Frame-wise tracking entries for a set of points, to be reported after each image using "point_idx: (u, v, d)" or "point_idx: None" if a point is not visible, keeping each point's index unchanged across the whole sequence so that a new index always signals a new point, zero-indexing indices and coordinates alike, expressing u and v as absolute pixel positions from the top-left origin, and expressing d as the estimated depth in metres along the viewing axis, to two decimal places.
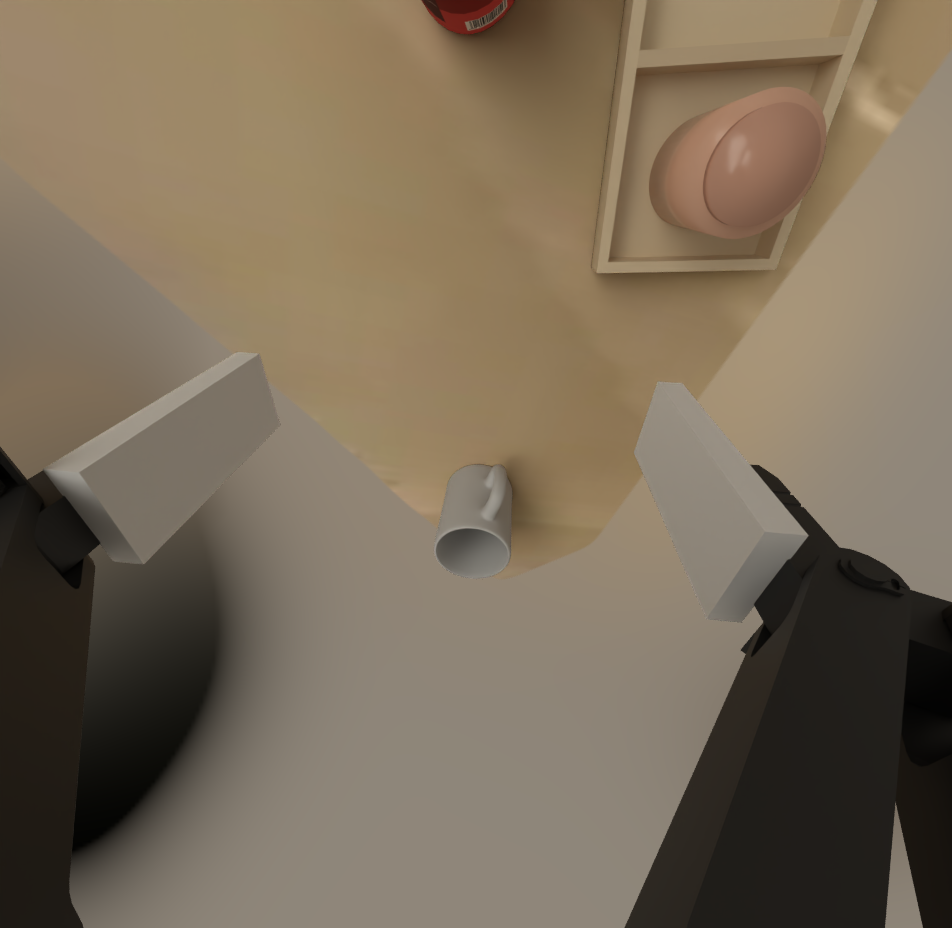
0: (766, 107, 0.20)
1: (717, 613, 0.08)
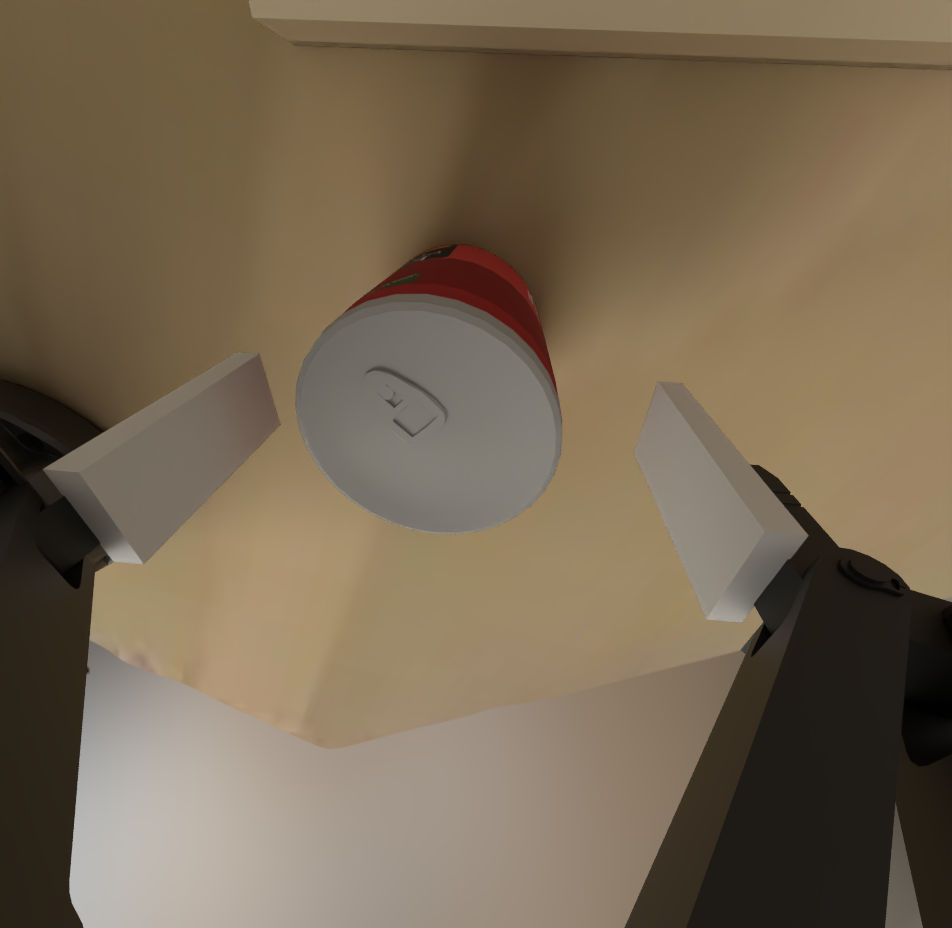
0: None
1: (717, 613, 0.08)
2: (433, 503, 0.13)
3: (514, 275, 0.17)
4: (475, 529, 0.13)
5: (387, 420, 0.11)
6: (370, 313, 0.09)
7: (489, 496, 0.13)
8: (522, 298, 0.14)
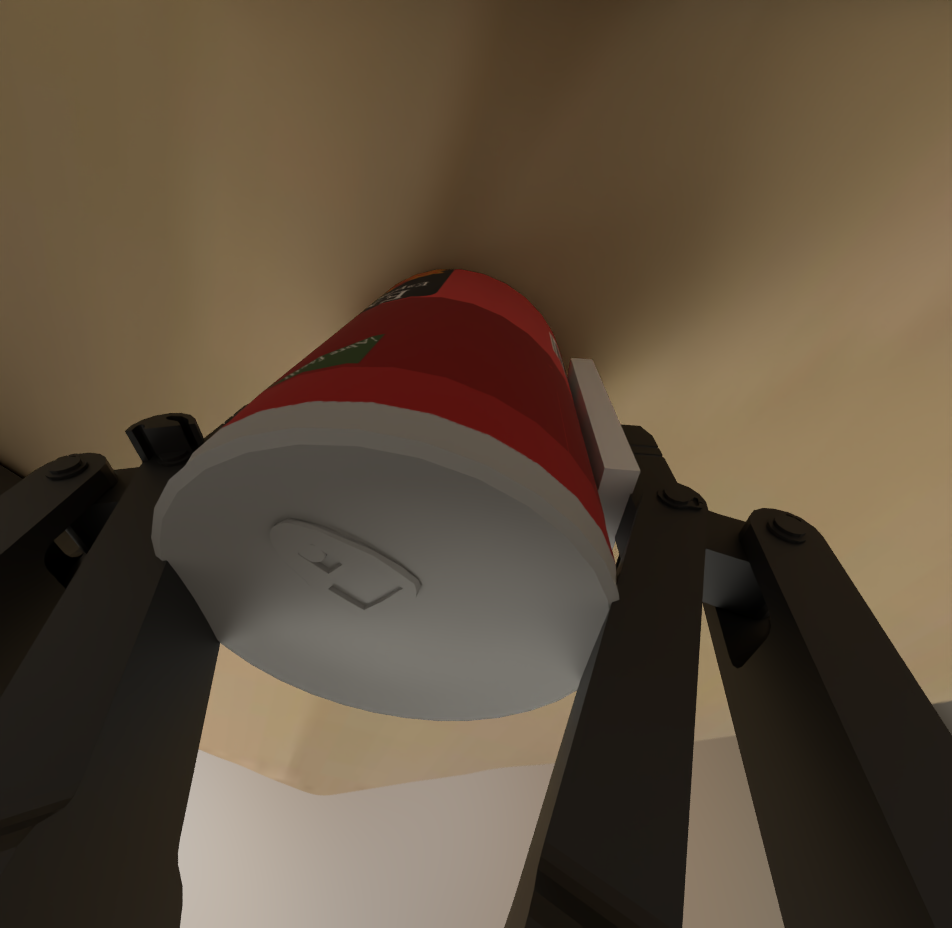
0: None
1: None
2: (405, 681, 0.08)
3: (531, 313, 0.12)
4: (470, 720, 0.09)
5: (319, 588, 0.07)
6: (256, 445, 0.05)
7: (491, 680, 0.08)
8: (545, 357, 0.09)
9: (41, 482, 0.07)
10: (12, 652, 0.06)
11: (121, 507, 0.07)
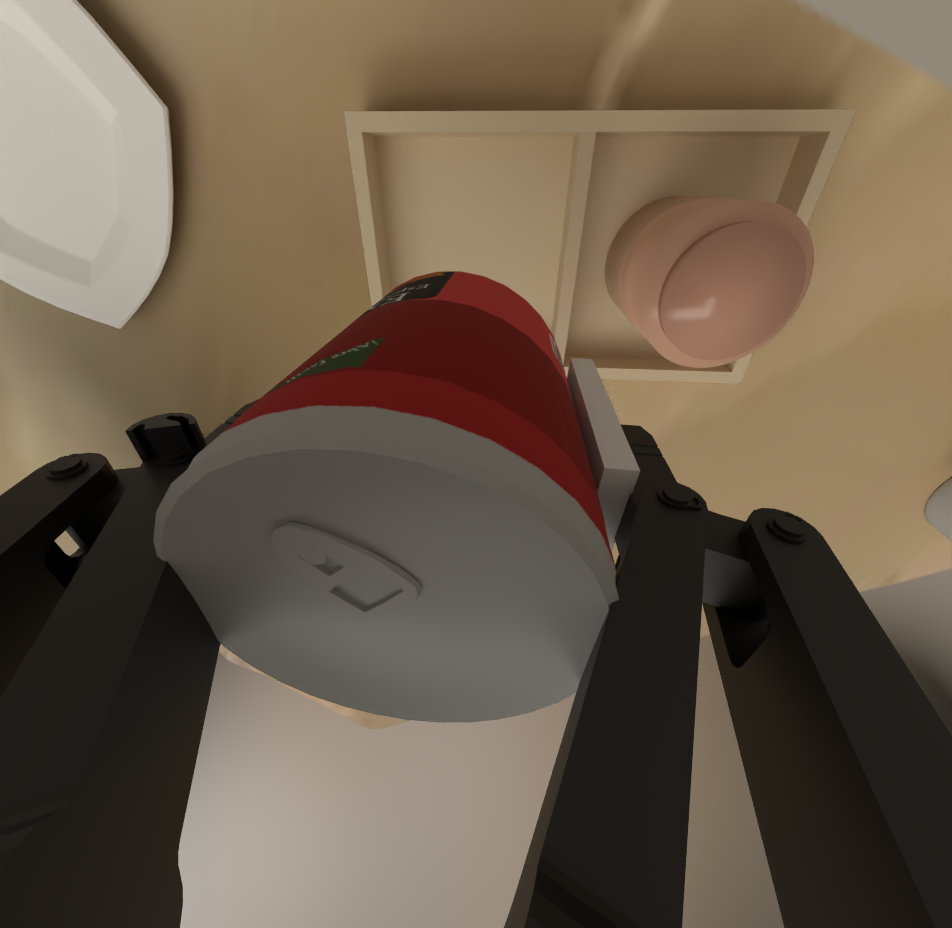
0: (664, 314, 0.18)
1: None
2: (405, 682, 0.08)
3: (532, 315, 0.12)
4: (470, 721, 0.09)
5: (320, 591, 0.07)
6: (259, 449, 0.05)
7: (492, 682, 0.08)
8: (545, 360, 0.09)
9: (41, 482, 0.07)
10: (12, 652, 0.06)
11: (121, 507, 0.07)
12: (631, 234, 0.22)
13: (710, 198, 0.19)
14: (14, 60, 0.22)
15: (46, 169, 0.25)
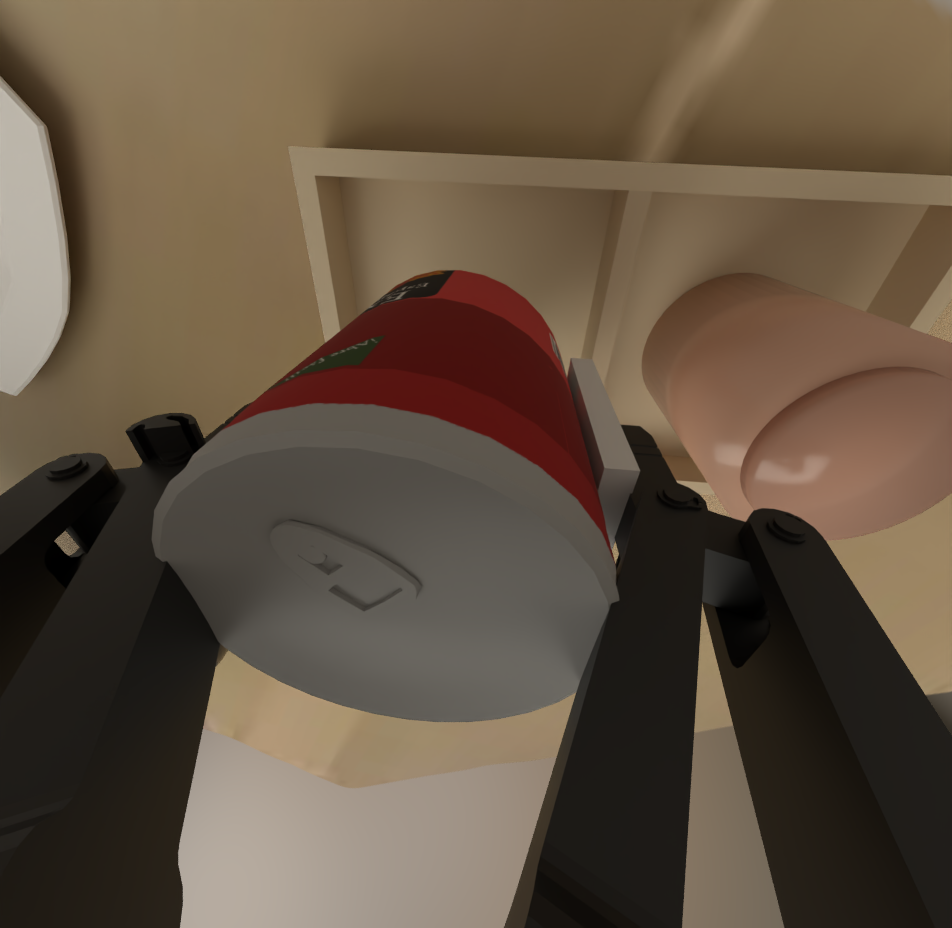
0: (755, 485, 0.12)
1: None
2: (405, 682, 0.08)
3: (532, 314, 0.12)
4: (470, 721, 0.09)
5: (319, 590, 0.07)
6: (256, 447, 0.05)
7: (491, 682, 0.08)
8: (545, 358, 0.09)
9: (41, 482, 0.07)
10: (12, 652, 0.06)
11: (121, 507, 0.07)
12: (689, 328, 0.16)
13: (819, 301, 0.13)
14: None
15: None
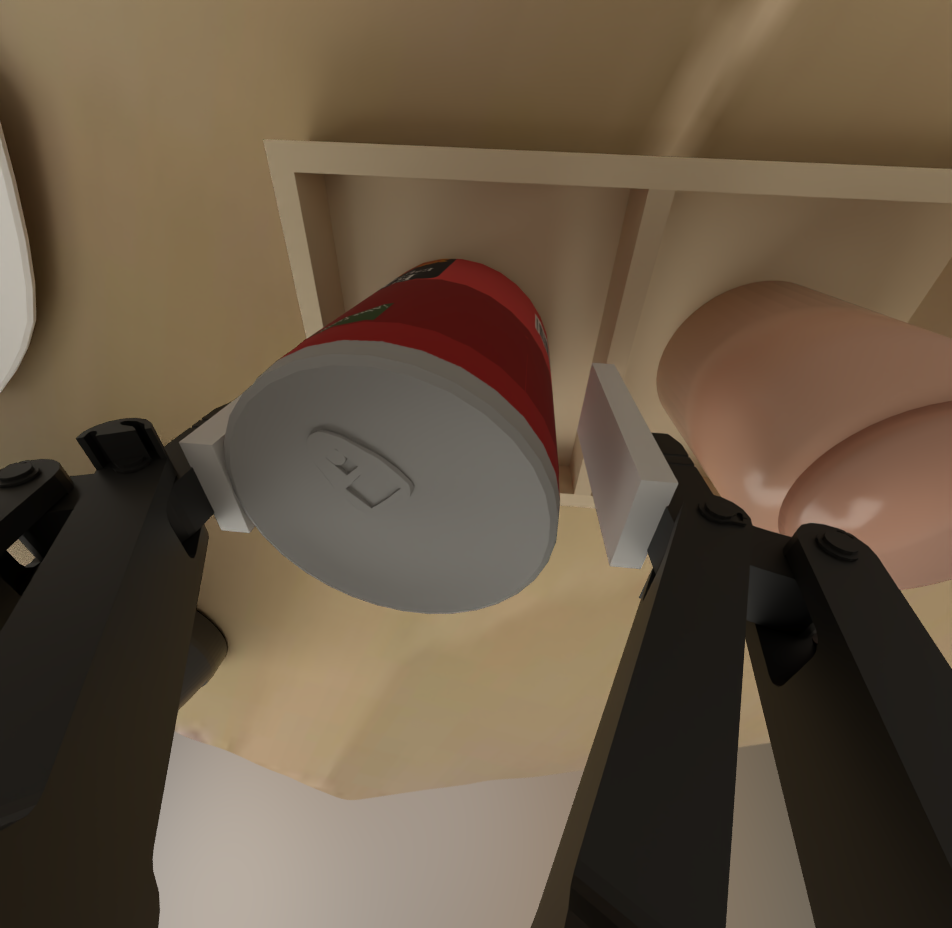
0: None
1: (618, 559, 0.09)
2: (401, 578, 0.11)
3: (519, 297, 0.14)
4: (451, 612, 0.11)
5: (339, 488, 0.09)
6: (305, 366, 0.07)
7: (468, 576, 0.10)
8: (523, 330, 0.12)
9: None
10: None
11: (75, 516, 0.07)
12: (713, 343, 0.14)
13: (868, 316, 0.11)
14: None
15: None
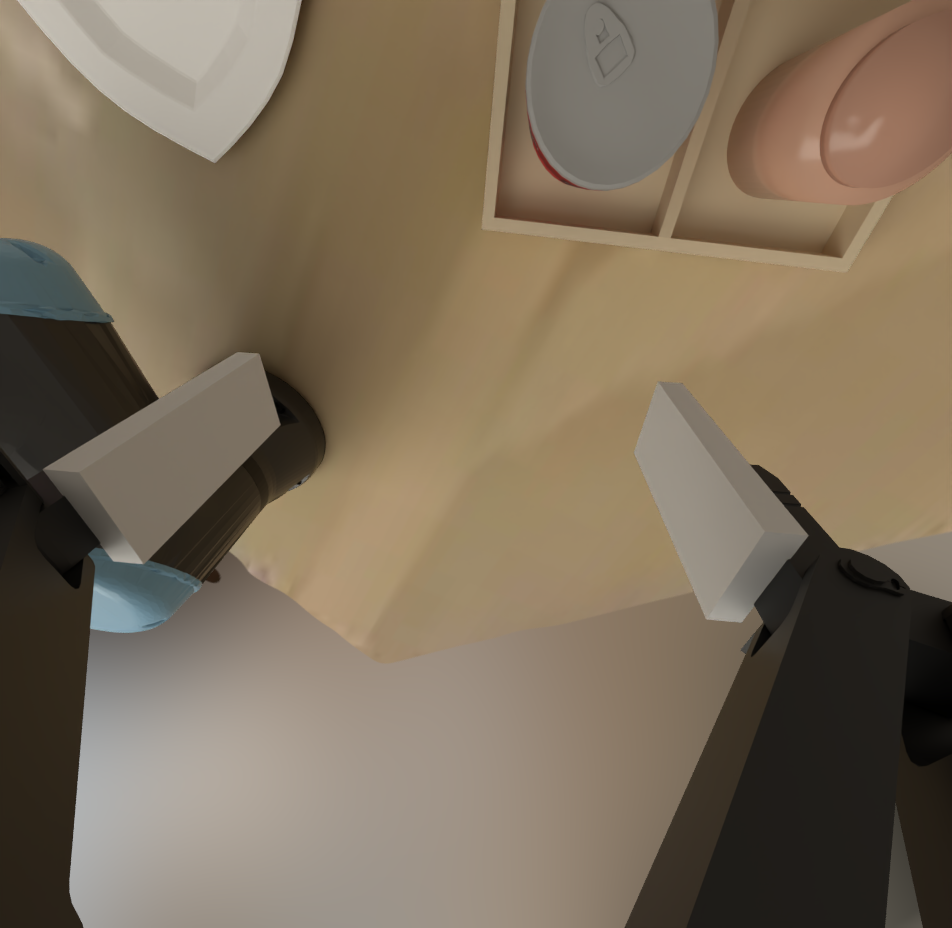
0: (833, 125, 0.17)
1: (717, 613, 0.08)
2: (598, 157, 0.18)
3: None
4: (625, 181, 0.18)
5: (591, 57, 0.16)
6: None
7: (642, 148, 0.18)
8: None
9: None
10: None
11: None
12: (779, 77, 0.21)
13: None
14: None
15: None
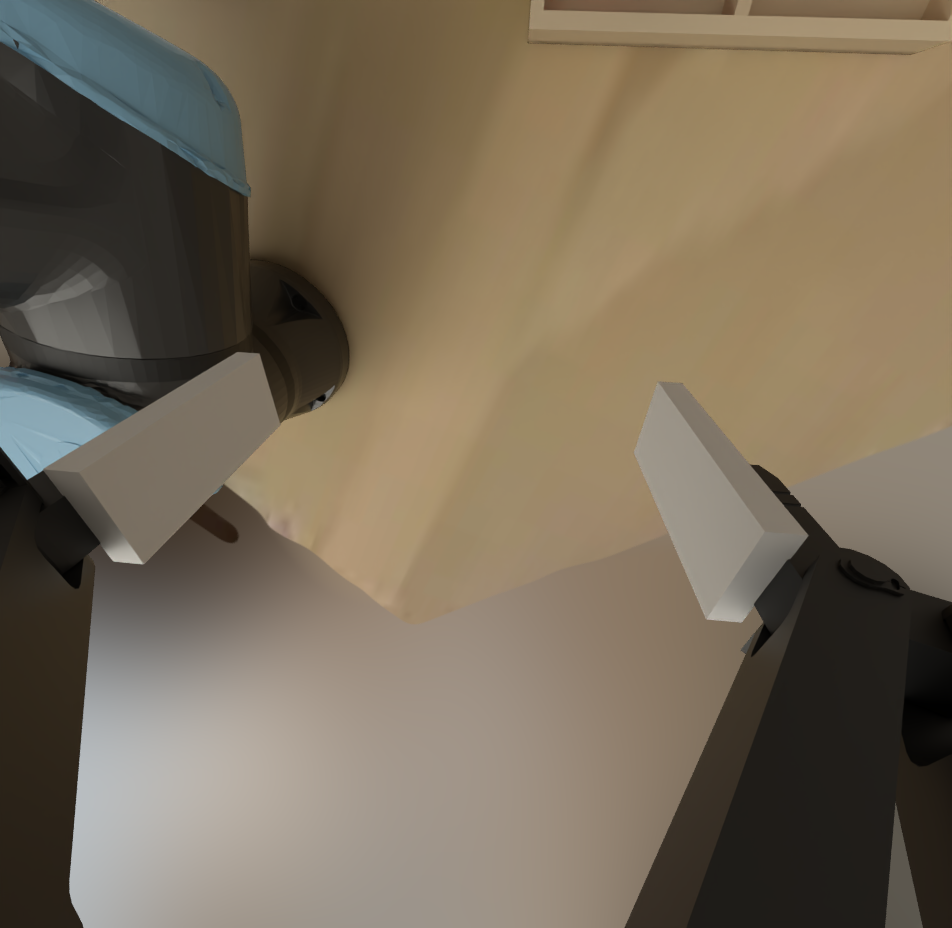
0: None
1: (718, 613, 0.08)
2: None
3: None
4: None
5: None
6: None
7: None
8: None
9: None
10: None
11: None
12: None
13: None
14: None
15: None
